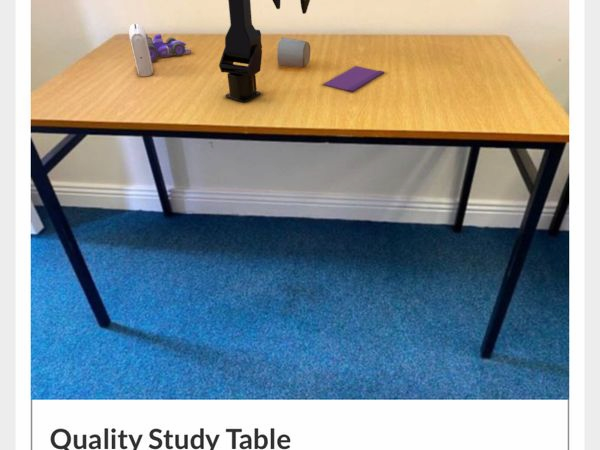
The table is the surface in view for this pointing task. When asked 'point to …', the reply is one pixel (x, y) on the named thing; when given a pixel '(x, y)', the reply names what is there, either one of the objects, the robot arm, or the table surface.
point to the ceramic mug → (293, 53)
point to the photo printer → (140, 50)
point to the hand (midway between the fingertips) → (291, 11)
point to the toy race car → (165, 47)
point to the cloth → (353, 79)
